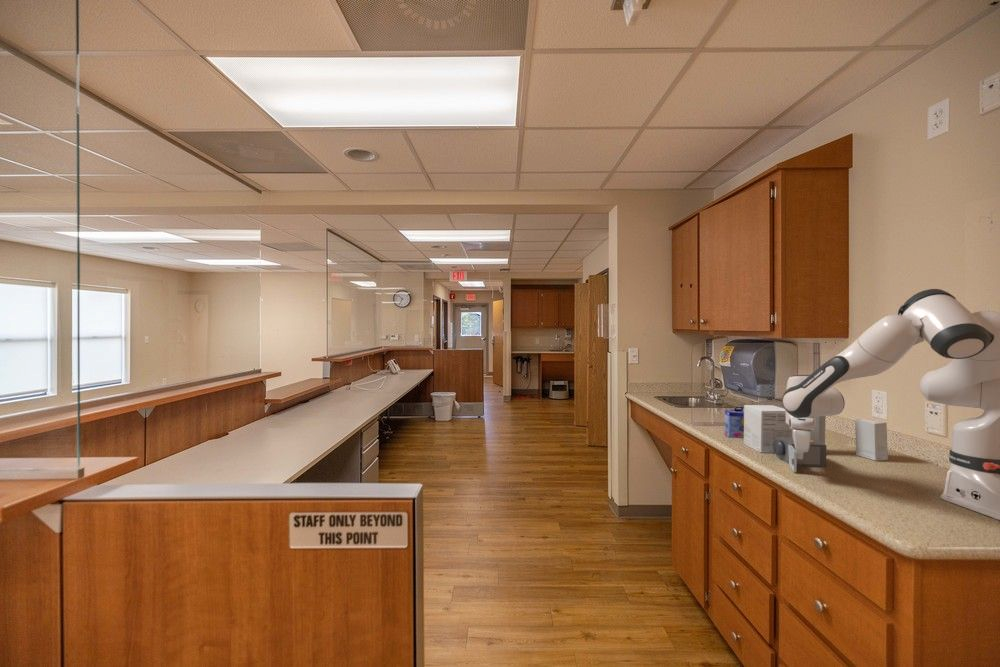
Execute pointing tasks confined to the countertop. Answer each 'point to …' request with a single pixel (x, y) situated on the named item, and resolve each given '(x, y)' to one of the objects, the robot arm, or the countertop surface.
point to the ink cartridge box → (734, 422)
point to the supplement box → (764, 426)
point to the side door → (792, 457)
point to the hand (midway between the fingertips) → (799, 458)
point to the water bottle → (819, 430)
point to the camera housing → (810, 458)
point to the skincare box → (871, 439)
